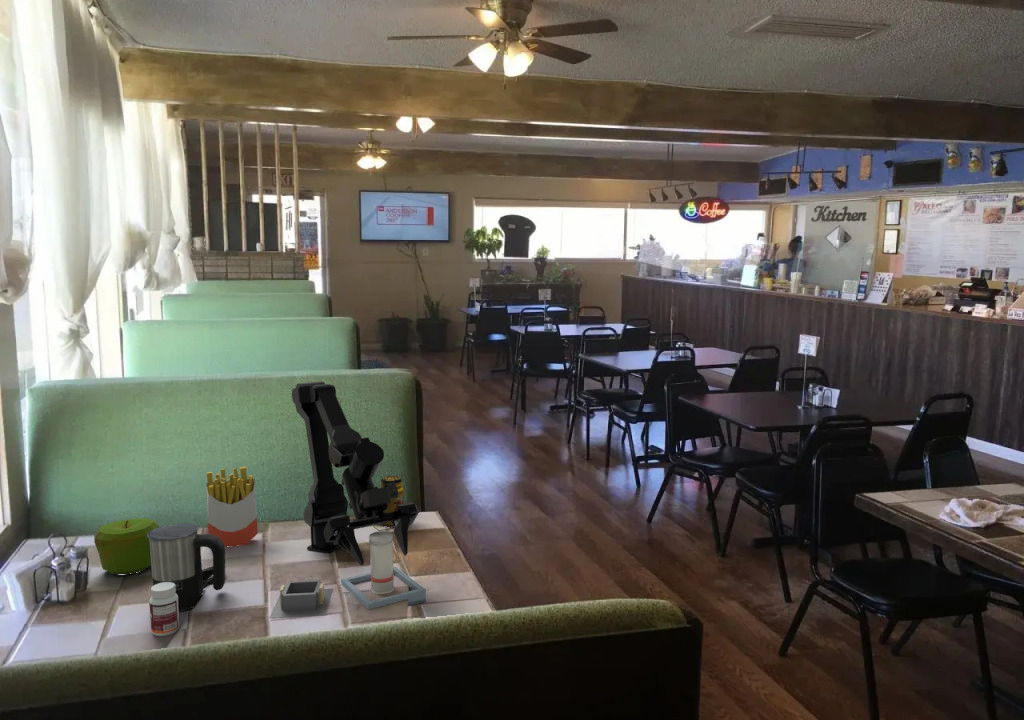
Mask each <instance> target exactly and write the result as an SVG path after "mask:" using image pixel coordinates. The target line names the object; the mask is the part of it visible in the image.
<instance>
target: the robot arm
mask: <svg viewBox="0 0 1024 720" xmlns="http://www.w3.org/2000/svg"><path fill="white" fill-rule="evenodd" d="M291 400H292V402H293V404H294V406H295V410H296V412H297V414H298V415H299V416H300V417H301V418H302V419H303V421H304V424H305V430H306V431H305V432H306V438H307V443H308V444H307V445H308V450H309V451H308V452H309V457H310V458H309V459H310V465H311V473H312V478H313V483H312V485H311V488H310V489H309V493H308V495H307V496H308V501H307V504H306V507H305V509H304V511H303V518H304V523H305V524H306V525H308V526H309V527H310V545H308V546H307V547H306V549H307V550H309V551H316V552H322V553H332V552H334V551H335V550H337V549H339V548H342V549H343V550H344V551H346V552H347V553H348V554H349V555H350V556H351V557H352V558H353V559H354V560H355V561H356V562H357V563H358V565H360V566H361V567H362V566H363V565H364V564H365V561H364V557H363V554H362V551H361V548H360V545H359V543H358V541H357V538H356V535H355V530H358V529H362V528H363V529H364V528H368V527H374V525H379V524H384V523H389V522H392V524H393V526H394V530H393V532H394V533H393V534H394V535H395V537H396V540H397V543H398V546H399V548H400V550H401V552H402V554H403V556H406V557H407V556H408V554H409V553H408V549H409V546H408V545H409V544H408V543H409V541H408V537H409V536H408V535H409V534H408V533H409V527H410V526H412V525H413V523H414V522H415V520H416V518H417V517H418V515H419V513H420V510H419V508H418V506H417V504H415V503H414V502H413V501H411V502H404V504H399V505H397V506H396V508H395V510H394V512H390V513H385V514H384V510H386V509H387V508H388V506H387V504H388V503H392V500H391V499H395V498H397V497H398V496H399V493H398V489H397V486H396V484H395V482H392V483H387V484H385V485H384V488H381V487H378V486H375V482H374V480H373V478H374V477H375V476H376V475H377V472H378V470H379V468H380V466H381V465H382V464H381V463H382V462H383V460H384V457H385V451H384V449H383V448H382V447H381V446H380V445H379V444H378V443H376V442H373V441H371V440H370V437H362V435H361V434H360V432H359V431H357V430H355V429H353V428H352V427H351V426H350V424H349V422H348V420H347V417H346V414H345V413H344V410H343V408H342V406H341V404H340V401H339V399H338V397H337V390H336V387H335V385H334V384H330V383H327V384H326V383H325V382H324V381H322V380H321V381H313V382H312V381H309V382H299V383H296V386H295V388H292V390H291ZM329 440H330V442H329ZM333 466H334V468H338V469H339V468H345V469H344V471H343V473H342V475H341V477H342V478H341V483H339V482H338V481H337V480H336V478H335V475H334V469H333ZM344 489H345V491H346V495H347V496H348V500H349V501H348V500H347V497H346V495H345V491H344ZM348 507H349V509H350V510H351V509H352V512H353V515H354V519H351V518H350V516H349V515H348Z"/></svg>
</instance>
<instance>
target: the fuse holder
mask: <svg viewBox="0 0 1024 720" xmlns="http://www.w3.org/2000/svg"><path fill="white" fill-rule="evenodd" d="M333 591H334V588H325V583H324V582H323V581H321V579H311V580H310V579H307V580H289V581H288V582H286V583H285V584H282V585H281V586H280V589H279V597H278V598H277V601H276V603H275V605H274V607H273V609H272V611H271V613H270V616H269V619H280V618H282V619H284V618H300V617H318V616H326V614H327V611H328V606H329V603H330V601H331V597H332V594H333Z"/></svg>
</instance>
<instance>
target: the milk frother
mask: <svg viewBox="0 0 1024 720" xmlns="http://www.w3.org/2000/svg"><path fill="white" fill-rule="evenodd" d="M199 527H200V526H198V525H197V524H194V523H175V524H169V525H165V526H159V528H157V529H154V530H152V531H151V532H149V533H148V534H147V537H148V538H149V541H150V553H151V565H150V566H151V576H152V586H154V585H156V584H158V583H163V582H172V583H174V584H175V589H176V592H175V593H176V594H177V595H178V603H179V613H180V612H184V611H188V610H191V609H193V608H195V607H196V606H197V605H198V604H199V602H200V601H201V600H202V598H203V596H204V595H203V593H204V590H205V589H206V588H207V587H209V586H210V585H212V584H213V585H212V588H213V589H214V590H215V591H220V590H222V589H223V587H224V586H225V584H226V547H225V546H224V543H223V542H222V540H221V539H220V538H218V537H217V536H215V535H211V534H208V533H198V531H199ZM202 547H203V548H208V549H209V550H211V553H212V566H209V567H206V568H203V566H202V553H201V548H202Z"/></svg>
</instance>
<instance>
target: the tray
mask: <svg viewBox="0 0 1024 720" xmlns="http://www.w3.org/2000/svg"><path fill="white" fill-rule="evenodd" d="M393 573H394V577H397V579H399V580H400V581H402V582H403V583H404V584H406V585H407V586H408V591H405V592H401V593H397V594H393V595H389V596H386V597H380V598H376V599H373V600H371V599H370V598H369V597H368V596H366V595H365V594H364V593H363V592H362V591H361V590H360V589H359V588H357V587H356V586H355V585H354V584H358V583H361V582H366V581H371V571H370V572H367V573H364V574H359V575H354V576H349V577H345V578H342V579H341V580H340V585H341V586H343V587H344V588H345V589H346V590H347V591H348V592H349V593H350V594H351V596H353V597H354V598H355V599H356V600H357V601H359V603H361V604H362V605H363V606H364V607H365V608H366V609H367V610H372V609H375V608H379V607H383V606H386V605H390V604H395V603H397V602H402V601H405V600H407V607H411V606H414V605H419V604H421V603H426V602H427V589H426V588H424V586H423V585H421V584H419V583H418V582H417V581H415V580H414V579H413V578H411V577H410V576H409V575H408V574H406V573H405V572H403V571H402V570H401V569H399V568H398V567H397V566H393Z"/></svg>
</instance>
